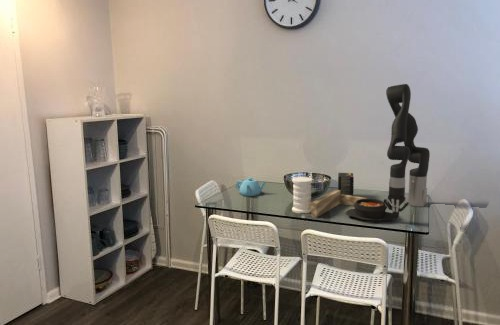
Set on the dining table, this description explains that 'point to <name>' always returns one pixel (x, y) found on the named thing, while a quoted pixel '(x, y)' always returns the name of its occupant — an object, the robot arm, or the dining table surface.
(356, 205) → the casserole
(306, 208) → the decorative container
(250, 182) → the teapot
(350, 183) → the tampon box
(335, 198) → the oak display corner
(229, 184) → the dining table surface
